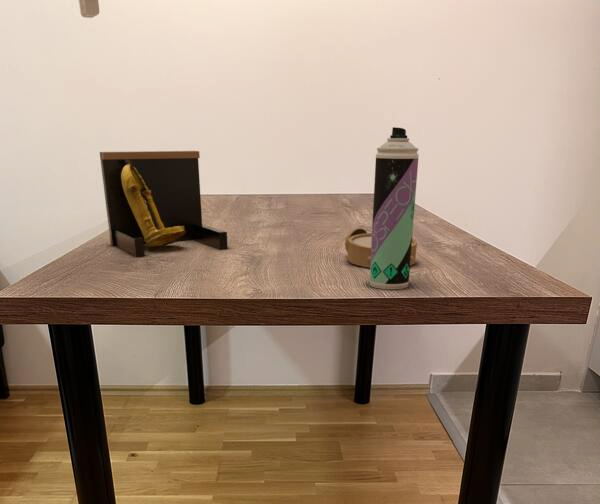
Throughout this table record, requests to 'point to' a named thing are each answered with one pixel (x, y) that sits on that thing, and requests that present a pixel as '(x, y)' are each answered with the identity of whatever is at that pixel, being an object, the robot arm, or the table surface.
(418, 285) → the table surface
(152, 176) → the black display stand
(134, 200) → the shrine
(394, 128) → the spray can
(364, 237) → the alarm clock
